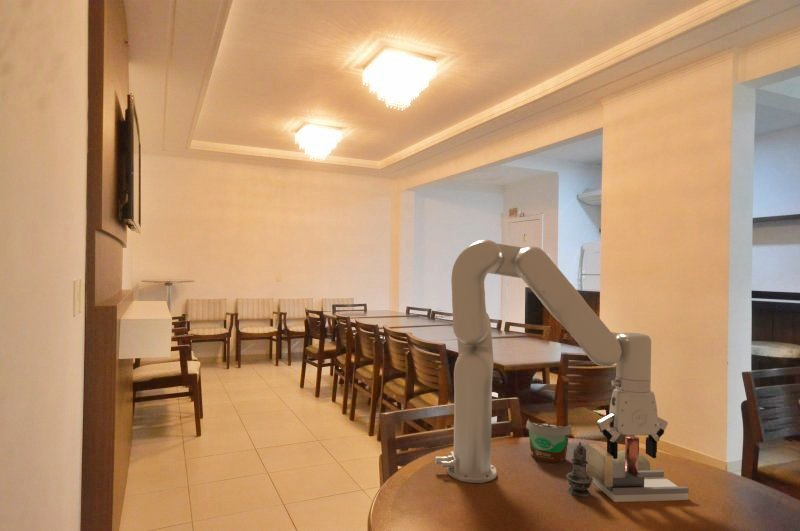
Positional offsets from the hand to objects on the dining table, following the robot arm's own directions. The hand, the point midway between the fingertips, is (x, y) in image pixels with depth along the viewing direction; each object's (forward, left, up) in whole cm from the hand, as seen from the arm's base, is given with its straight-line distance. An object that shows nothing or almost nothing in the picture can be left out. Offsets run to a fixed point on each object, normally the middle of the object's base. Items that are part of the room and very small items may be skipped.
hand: (631, 456), depth 116 cm
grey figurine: (-13, 0, -8) cm, 16 cm away
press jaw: (-4, 0, -6) cm, 8 cm away
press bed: (+2, 0, -8) cm, 9 cm away
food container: (-13, +19, -8) cm, 25 cm away
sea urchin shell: (+7, +12, -9) cm, 16 cm away
